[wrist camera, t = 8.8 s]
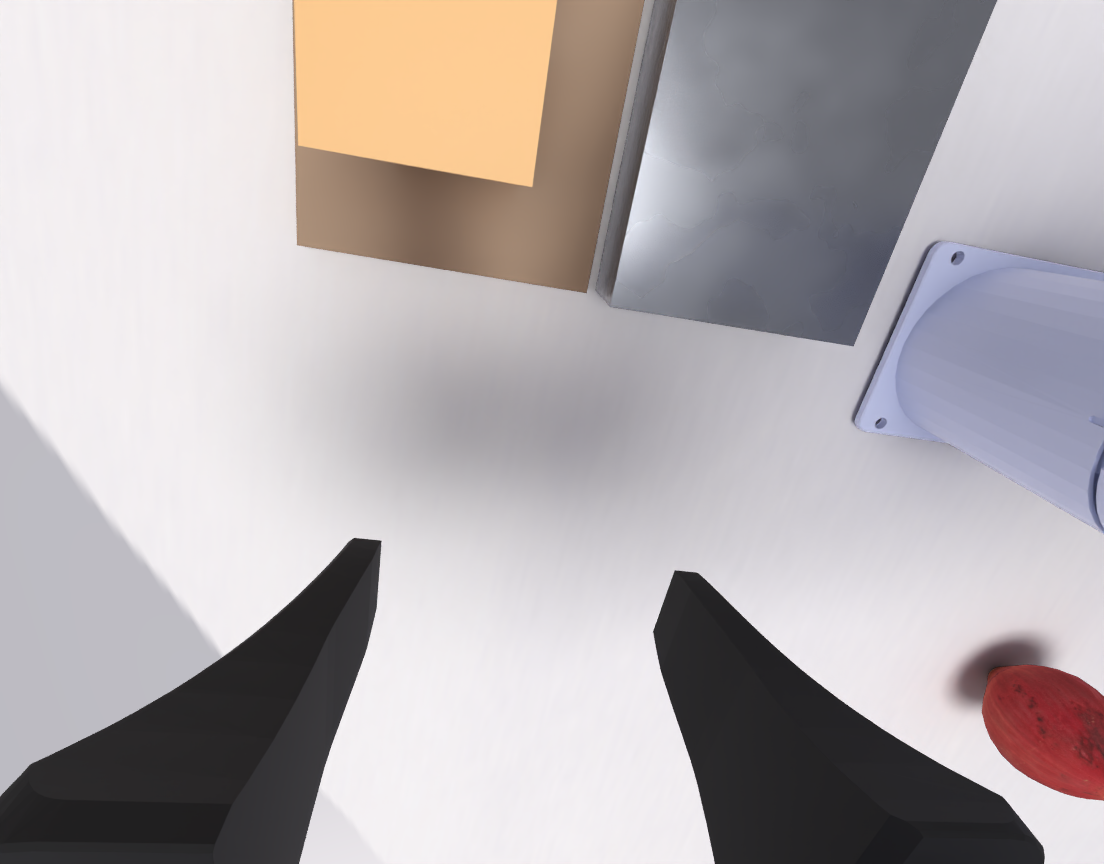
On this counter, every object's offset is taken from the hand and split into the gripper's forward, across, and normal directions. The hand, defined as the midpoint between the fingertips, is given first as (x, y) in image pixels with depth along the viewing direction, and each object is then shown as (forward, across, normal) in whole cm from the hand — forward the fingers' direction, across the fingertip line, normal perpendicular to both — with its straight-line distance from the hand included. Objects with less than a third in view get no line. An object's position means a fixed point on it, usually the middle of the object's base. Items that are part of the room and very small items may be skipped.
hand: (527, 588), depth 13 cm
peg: (+9, +4, -11) cm, 15 cm away
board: (+10, +4, -11) cm, 15 cm away
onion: (+11, -31, +12) cm, 35 cm away
